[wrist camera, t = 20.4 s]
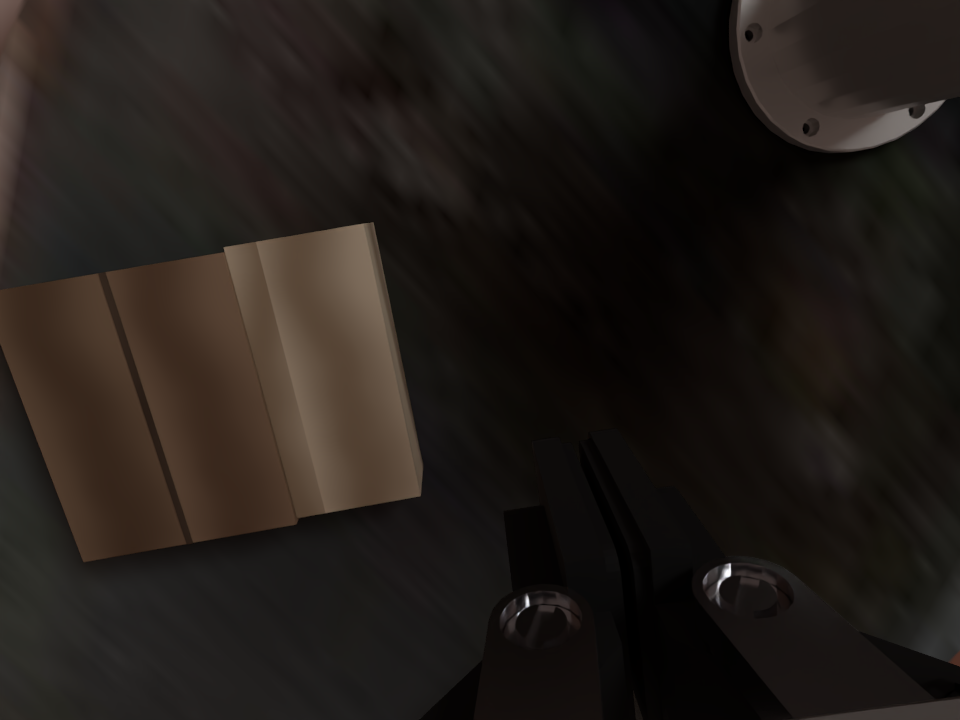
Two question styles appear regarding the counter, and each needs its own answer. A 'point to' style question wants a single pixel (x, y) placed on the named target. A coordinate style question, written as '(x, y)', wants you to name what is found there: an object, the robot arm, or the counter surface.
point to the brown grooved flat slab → (147, 405)
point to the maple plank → (329, 367)
